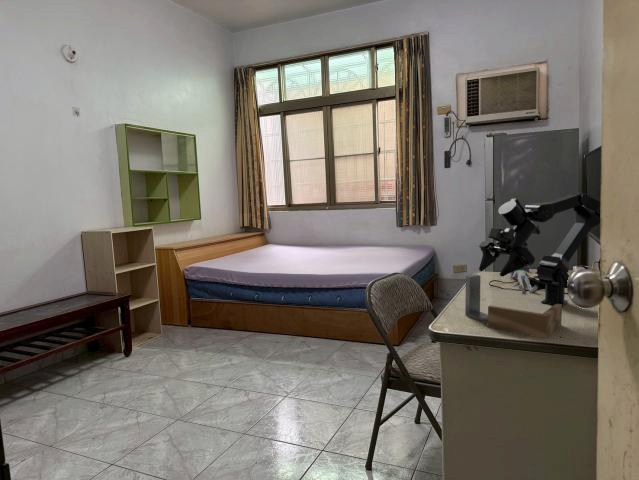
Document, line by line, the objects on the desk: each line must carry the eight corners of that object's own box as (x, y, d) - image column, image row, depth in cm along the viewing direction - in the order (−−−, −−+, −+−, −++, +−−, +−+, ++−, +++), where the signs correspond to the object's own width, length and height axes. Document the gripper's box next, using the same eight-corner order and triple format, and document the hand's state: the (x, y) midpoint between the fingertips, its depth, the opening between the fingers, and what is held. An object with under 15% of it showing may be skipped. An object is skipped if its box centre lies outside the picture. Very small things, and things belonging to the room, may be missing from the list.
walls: (506, 315, 134) (506, 296, 133) (561, 325, 123) (562, 304, 122) (487, 326, 123) (488, 306, 123) (545, 338, 113) (546, 316, 112)
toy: (513, 281, 161) (505, 256, 188) (512, 302, 163) (504, 275, 190) (543, 282, 157) (531, 257, 185) (542, 303, 160) (530, 275, 187)
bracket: (475, 313, 136) (476, 274, 135) (493, 320, 129) (494, 279, 127) (465, 315, 135) (465, 275, 133) (482, 322, 128) (483, 280, 126)
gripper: (484, 216, 144) (455, 252, 142) (528, 220, 126) (497, 260, 124) (502, 239, 147) (475, 274, 145) (548, 245, 130) (518, 285, 128)
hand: (490, 272), depth 135 cm, fingers open, 9 cm apart
